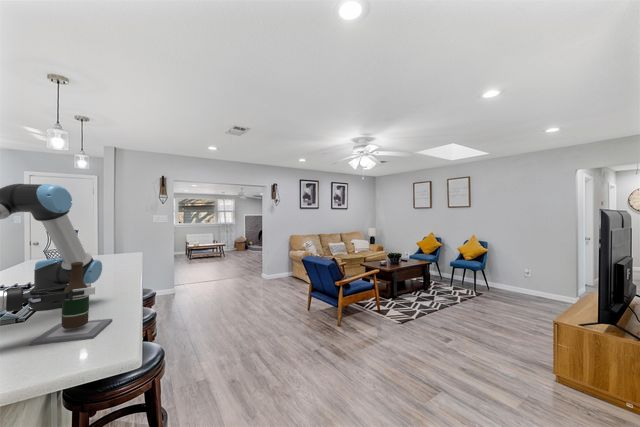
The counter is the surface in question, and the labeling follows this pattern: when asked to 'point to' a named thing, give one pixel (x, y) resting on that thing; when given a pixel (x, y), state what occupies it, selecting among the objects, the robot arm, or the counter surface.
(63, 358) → the counter surface
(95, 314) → the counter surface
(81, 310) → the beer bottle
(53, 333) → the picture frame
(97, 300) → the counter surface
